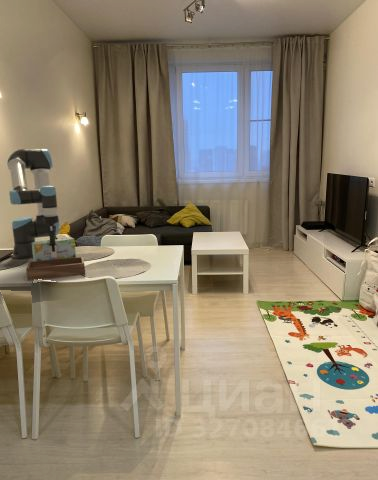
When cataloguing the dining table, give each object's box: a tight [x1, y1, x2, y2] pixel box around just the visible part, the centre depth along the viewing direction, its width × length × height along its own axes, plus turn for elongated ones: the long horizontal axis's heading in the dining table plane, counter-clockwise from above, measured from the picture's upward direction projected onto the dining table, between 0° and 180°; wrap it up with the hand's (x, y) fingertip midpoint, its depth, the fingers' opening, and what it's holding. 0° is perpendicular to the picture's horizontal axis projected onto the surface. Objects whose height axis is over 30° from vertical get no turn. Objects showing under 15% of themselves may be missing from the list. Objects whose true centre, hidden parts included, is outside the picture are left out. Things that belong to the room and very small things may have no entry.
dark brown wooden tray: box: [25, 256, 86, 282], centre depth 187 cm, size 14×27×6 cm, turn 108°
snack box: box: [32, 236, 77, 262], centre depth 198 cm, size 21×6×15 cm, turn 126°
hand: (54, 254), depth 198 cm, fingers open, 13 cm apart
